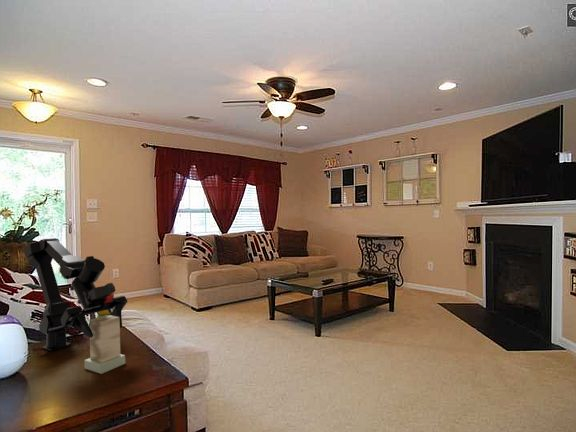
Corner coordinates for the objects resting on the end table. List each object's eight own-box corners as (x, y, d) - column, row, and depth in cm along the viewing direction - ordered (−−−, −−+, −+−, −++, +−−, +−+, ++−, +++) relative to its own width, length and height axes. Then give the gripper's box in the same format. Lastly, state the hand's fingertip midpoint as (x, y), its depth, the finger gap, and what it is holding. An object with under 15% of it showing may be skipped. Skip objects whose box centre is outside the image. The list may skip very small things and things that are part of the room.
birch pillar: (90, 358, 109) (89, 319, 109) (108, 352, 114) (107, 314, 114) (102, 362, 106) (101, 322, 106) (120, 355, 111) (119, 317, 111)
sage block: (84, 369, 108) (84, 360, 108) (108, 359, 115) (108, 350, 115) (101, 375, 104) (101, 365, 104) (125, 364, 111) (125, 355, 111)
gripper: (64, 281, 104) (85, 325, 98) (123, 271, 119) (145, 308, 114) (51, 304, 108) (71, 348, 102) (110, 292, 124) (130, 329, 118)
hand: (107, 332), depth 109 cm, fingers open, 9 cm apart
